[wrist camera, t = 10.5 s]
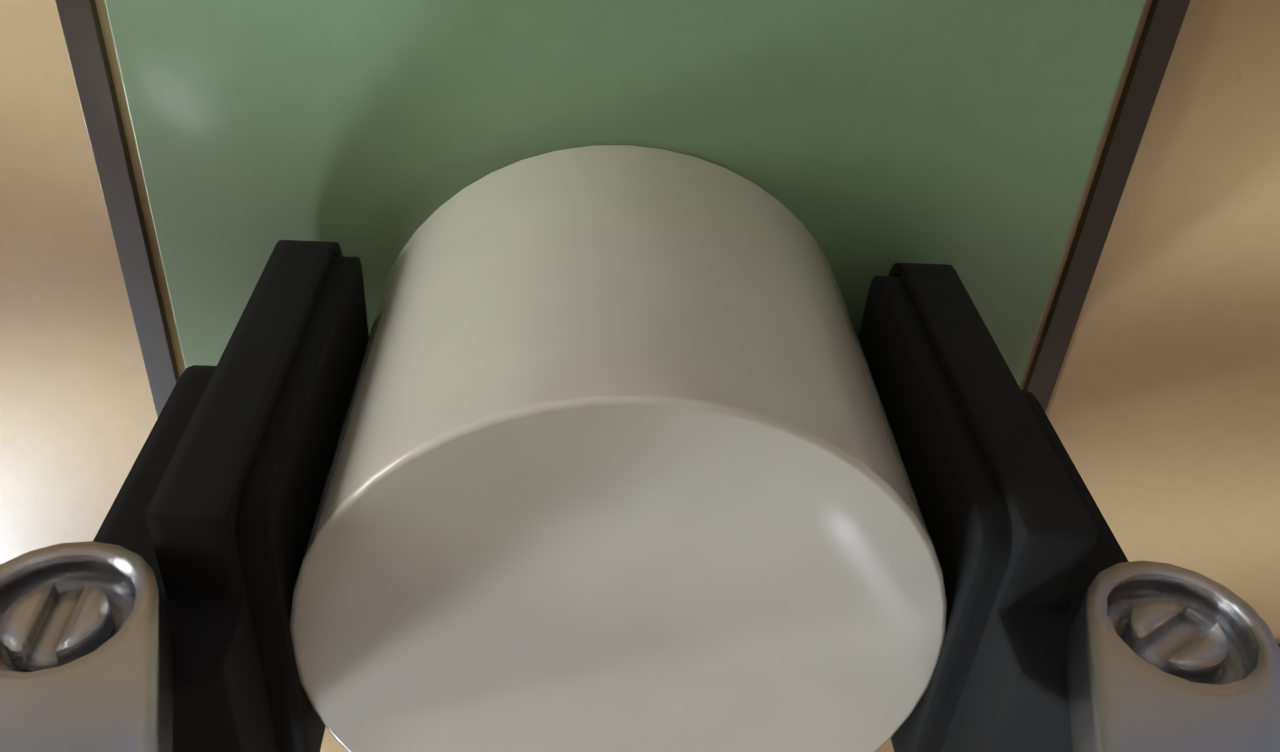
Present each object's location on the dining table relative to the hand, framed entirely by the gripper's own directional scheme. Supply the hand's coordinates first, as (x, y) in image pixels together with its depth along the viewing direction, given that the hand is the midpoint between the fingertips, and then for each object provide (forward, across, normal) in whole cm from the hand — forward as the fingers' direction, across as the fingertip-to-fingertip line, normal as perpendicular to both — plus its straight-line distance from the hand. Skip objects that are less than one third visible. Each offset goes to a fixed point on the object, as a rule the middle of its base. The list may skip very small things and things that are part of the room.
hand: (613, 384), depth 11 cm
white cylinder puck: (0, 0, 0) cm, 0 cm away
